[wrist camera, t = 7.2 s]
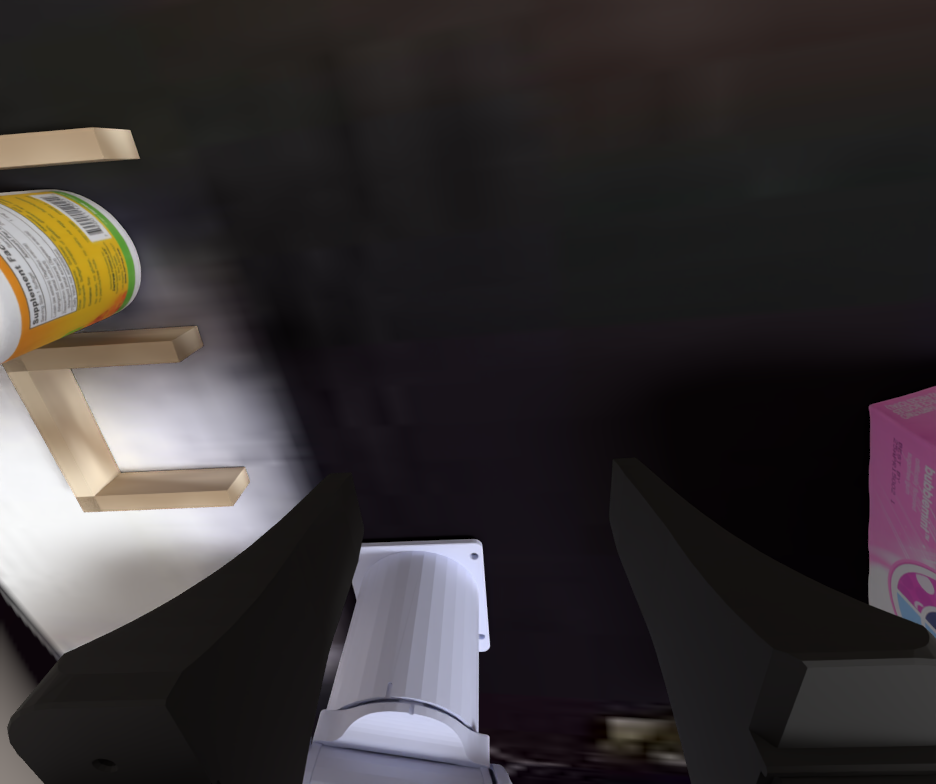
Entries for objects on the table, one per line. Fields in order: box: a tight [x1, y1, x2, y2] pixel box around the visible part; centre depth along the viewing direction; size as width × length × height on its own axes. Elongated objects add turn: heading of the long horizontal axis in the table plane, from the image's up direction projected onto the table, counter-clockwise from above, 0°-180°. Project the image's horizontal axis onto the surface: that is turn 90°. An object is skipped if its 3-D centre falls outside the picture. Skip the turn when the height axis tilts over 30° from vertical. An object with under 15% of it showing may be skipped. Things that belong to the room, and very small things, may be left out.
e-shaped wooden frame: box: [0, 127, 250, 512], centre depth 22 cm, size 17×8×2 cm, turn 4°
